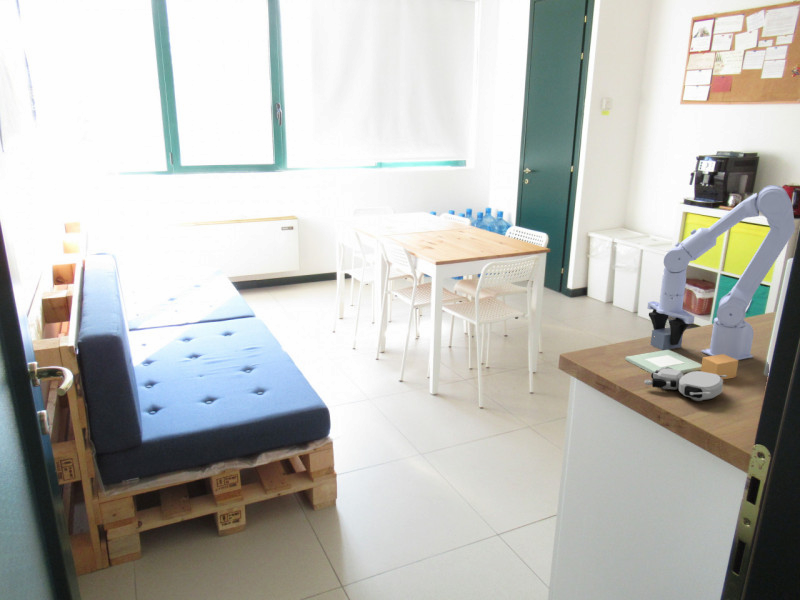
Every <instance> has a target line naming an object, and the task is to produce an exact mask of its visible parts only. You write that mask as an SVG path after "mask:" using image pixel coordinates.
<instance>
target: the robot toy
mask: <svg viewBox="0 0 800 600" xmlns="http://www.w3.org/2000/svg"><path fill="white" fill-rule="evenodd" d="M650 374H651V375H650V376H651V380H650V379H645V380H644V385H645V386H652V388H661V389H662V390H678V391H679V393H680V394H682V395H683V396H684V397H688V398H690V399H691V400H693V401H696V402H702V401H703V400H711V399H714V398H716V397H717V396H719V395H721V393H722V392H723V385H724V379H722V378H721V377H727V375H722V376H718V375H717V374H713V373H707V372H702V371H701V370H697V371H692V372H686V373H682V372H681V371H678V370H674V369H672V368H669V367H667V368H660V369H659V370H656V371H655V372H653V373H650Z"/></svg>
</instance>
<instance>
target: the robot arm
mask: <svg viewBox="0 0 800 600" xmlns="http://www.w3.org/2000/svg"><path fill="white" fill-rule="evenodd" d="M760 213H761V214H762V216H764V218H766V221H767V224H768V226H769V231H768V233H767V234H766V236H765V238H764V239H763V240H762V242H761V243H760V244H759V246H758V248H757V250H756V252H754V255H753V256H752V258H751V260H750V261H749V263H748V264H747V266H746V268H745V269H744V271H743V272H742V274H741V275H740V277H739V279H738V280H737V282H736V283H735V285H733V287H732V288H731V290H730V291H728V293H727V294H725V295H724V296H722V297H721V298H720V300H719V302H718V308H717V310H716V317H714V319H713V326H712V333H711V339H710V343H709V348H705V349H702V350H701V353H703V354H706V355H708V356H714V355H720V354H725V355H727V356H729V357H732V358H734V359H736V360H738V361H740V360H746V359H751V358H753V357H754V355H753V354H751V351H752V346H753V345H752V344H753V339H754V335H755V333H754V329H753V327H752V325H751V324H750V323H749V322H748V321H746V320H745V318H746V312H747V311H746V310H747V308H748V306H749V305H750V303H751V301H752V298H753V297H754V295H755V293H756V291H757V290H758V289H759V287H760V285H761V284H762V282H763V281H764V279H765V278H766V277H767V274H768V273H769V272H770V270H771V268H772V267H773V265H774V264H775V262H776V261H777V259H778V257H779V256H780V255H781V253H782V252H783V250H784V249H785V247H786V245H787V244H788V242H789V240H790V239H791V238H792V236H793V234H794V233H795V231H796V227H795V217H794V208H793V203H792V200H791V198H790V196H789V194H788V192H787V190H786V189H785V188H784V187H782V186H780V185H774V184H771V185H766V186H765V187H763V188H762V189H761V190H759V192H758V193H757V192H755V193H754V194H751V195H750V196H748V197H747V198H745V199H744V200H742V201H741V202H739V203H738V204H737V205H736V206H735V207H733V208H732V209H731V210H730V211H728V212H727V213H726V214H724V215H723V216H721V218H719V219H718V220H717V221H716V222H714V223H713V224H712V225H710V226H709V227H699V228H698V229H697V230H696V229H695V228H694V229H692V230H691V231H690V235H689V236H688V237H686V238H685V239H683V240H682V241H681V242H676V243H675V244H674V246H675V247H672V248H671V249H669V250H668V251H667V253H666V254H665V256H664V257H663V265H664V267H663V275H662V280H661V288H660V296H659V302H657V301H647V309H648V310H652V312H651V311H650V312H649V313H648V316H649V320H651V324H652V328H653V330H657V329H663V328H666V324H667V321H668V324H669V328H670V330H671V336H670V345H678V343H679V341H680V338H681V336H682V334H684V333H685V331H686V329H688V327H689V326H690V325H691V324H694V322H695V315H693V314H691V313H689V312H687V311H686V310H685V309H684V308H683V306H684V305H683V304H684V298H685V292H686V283H687V270H688V269H687V268H688V266H689V263H690V262H692V261H693V262H694V261H696V260H697V259H698V258H700V257H701V256H702V255H703V256H704V254H705V253H706V252H708V251H709V250H712V248H714V247H715V246H716V245H717V238H718V237H720V236H721V235H723V234H724V233H725V232H727V231H728V230H730V229H731V228H733V227H734V226H736V225H737V224H738V223H741V221H743V220H745V219H747V218H755V217H759V215H760ZM669 317H670V318H673V319H670V320H668V318H669Z"/></svg>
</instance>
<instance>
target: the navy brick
mask: <svg viewBox="0 0 800 600" xmlns="http://www.w3.org/2000/svg"><path fill="white" fill-rule="evenodd" d="M683 334H684V333H683ZM683 334H682V336H681V338H680V341H679V343H678V345H670V336H671V330H670V327H665V328H663V329H657V330H654V329H652V330H651V339H650V346H652V347H654V348H656V349H659V350H660V351H663V350H672V349H679V348H682V342H683V337H684V336H683ZM654 336H655V337H654Z"/></svg>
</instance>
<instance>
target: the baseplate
mask: <svg viewBox="0 0 800 600" xmlns="http://www.w3.org/2000/svg"><path fill="white" fill-rule="evenodd" d="M624 358H625V359H624V360H625V361H627V362H629V363H630V364H633V365H634V366H637V367H639V368H640V369H643V370H645V371H646V372H648V373H650V374H652V373H653V372H655V371H656V370H659V369H660V368H667V367H669V368H672V369H674V370H678V371H681V372H682V373H683V374H687V373H690V372H693V371H701V366H702V363H700V362H697V361H695V360H692V359H690V358H689V357H686V356H684V355H682V354H680V353H677V352H675V351H672V349H668V350H658V351H657V350H656V351H651V352H646V353H640V354H635V355H630V356H629V355H628V356H627V355H626V356H625V357H624Z"/></svg>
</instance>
